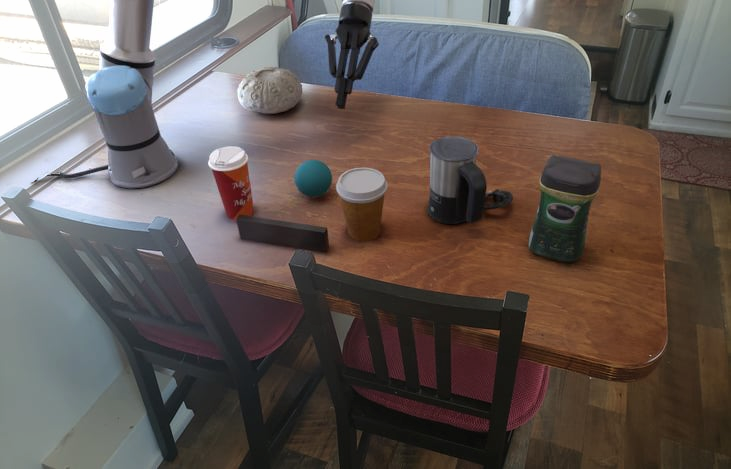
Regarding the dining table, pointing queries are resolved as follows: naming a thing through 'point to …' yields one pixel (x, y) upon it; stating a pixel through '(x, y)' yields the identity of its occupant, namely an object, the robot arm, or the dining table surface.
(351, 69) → the robot arm
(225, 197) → the paper cup
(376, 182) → the disposable coffee cup
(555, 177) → the coffee jar
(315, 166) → the ball
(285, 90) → the decorative shell
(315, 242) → the block
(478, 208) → the milk frother
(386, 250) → the dining table surface
